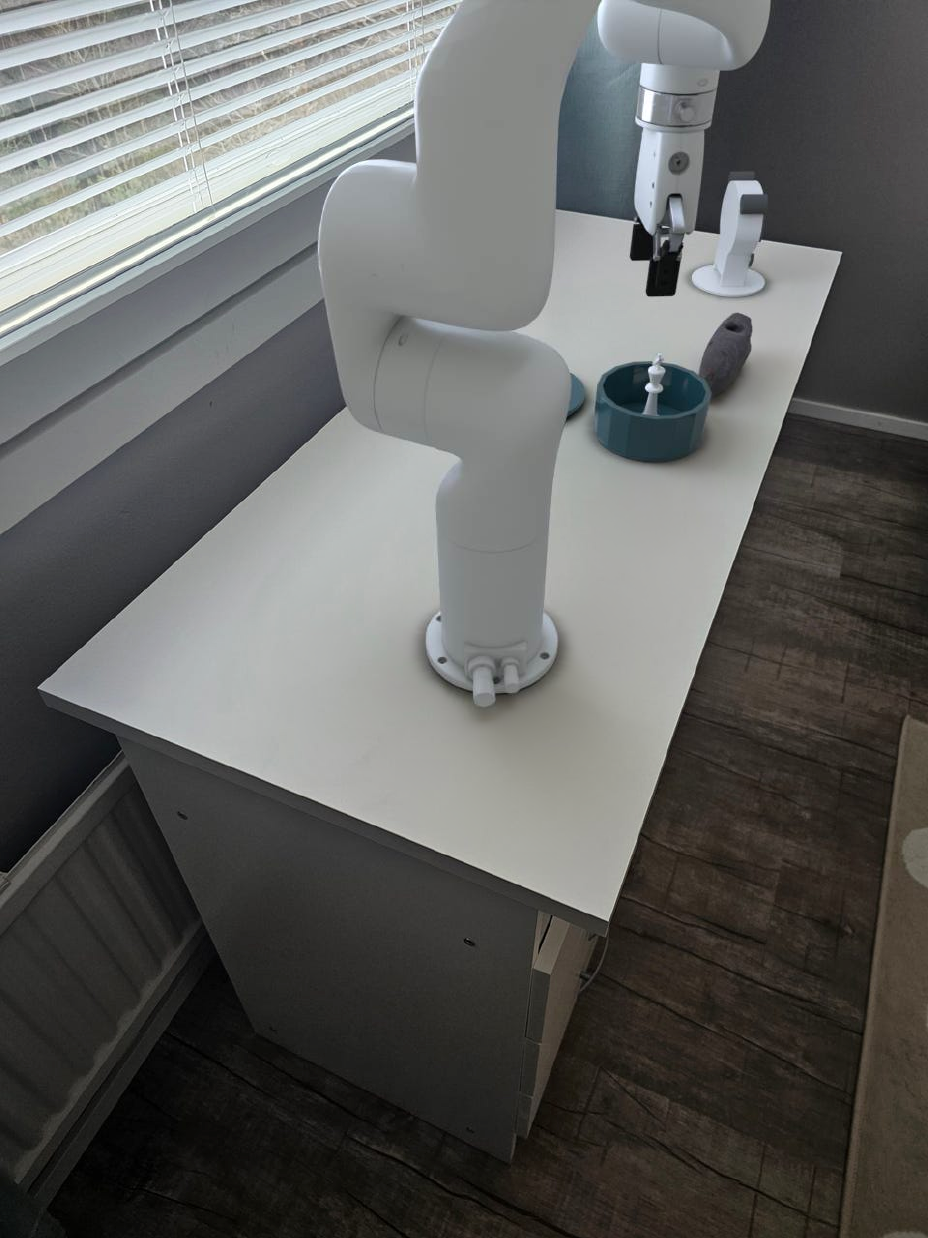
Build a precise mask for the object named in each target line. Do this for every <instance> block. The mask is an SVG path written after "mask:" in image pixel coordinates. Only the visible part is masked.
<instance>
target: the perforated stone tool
mask: <svg viewBox="0 0 928 1238" xmlns="http://www.w3.org/2000/svg"><path fill="white" fill-rule="evenodd" d="M752 334H753V324H752V318H751V317H749V316H748V315H745V314H744V313H740V312H733V313H731V314H730V315H729V316H728V317H727V318H725V319H724V320H723V321H722V322H721V323H720V325H719V326H718V327H717V329H716V330H715V331H714V333H713V334H712V336H711V338H710V339H709V341H708V343H707V345H706V347H705V349H704V352H703V354H702V356H701V360H700V365H699V370H698V375H699V376H700V377H702V378H703V379H704V380H706V381H707V384H708V386H709V388H710V390H711V392H712V394H711V398H714V397H716V396H718V395H719V394H721V393H723V392H724V391H725V390H726V389H727V388H728V387H729V386H730V385H731V384H732V382H733V381H734V380H735V378H736V377H737V376H738V375H739V373H740V371H741V370H742V368H743V367H744V366H745V364H746V362H747V360H748V358H749V356H750V354H751V352H752V340H751V338H752Z"/></svg>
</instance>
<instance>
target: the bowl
mask: <svg viewBox="0 0 928 1238" xmlns="http://www.w3.org/2000/svg"><path fill="white" fill-rule="evenodd" d="M653 361H654V360H651V361H650V360H646V361H645V360H643V361H641V360H640V361H631V362H627V363H623V364H620V365H615V366H613V367H612V368H611V369H608V370H607V371H606V372H604V373H603V374H602V375H601V376H600V378H599V381H598V382H597V385H596V394H595V404H594V414H593V433H594V436H595V438H596V439H597V441H598V442H599V443H600V445H602V446H603V447H604V448H605V449H607V450H608V451H610V452H612V453H614V454H616V455H618V456H621V457H623V458H626V459H628V460H629V459H630V460H633V461H640V462H648V463H661V462H669V461H675V460H678V459H682V458H684V457H687V456H689V455H690V454H691V453H693V452H695V451H696V450H697V449H698V448H699V446H700V445H701V443H702V440H703V436H704V432H705V429H706V423H707V419H708V413H709V409H710V403H711V398H712V397H711V394H712V392H711V390H710V388H709V386H708V384H707V381H706V380H704V379H703V378H702V377H700V376H699V373H697V372H695V371H694V370H692V369H688V368H686V367H684V366H681V365H678V364H675V363H670V362H664V361H662V362H661V363H660V366H662V367H663V368H664V369H665V374H664V376H663V377H662V379H661V381H660V383H659V384H661V385H662V386H663V391H662V392H660V393H657V414H658V415H660V416H652V415H647V414H641V413H643V412H644V410H645V406H646V403H647V399H648V396H649V392H648V391H646V389H645V386H646V385H647V384H648V383H651V382H650V377H649V373H648V369H649V367H651V366H654V365H652V363H653Z"/></svg>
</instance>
